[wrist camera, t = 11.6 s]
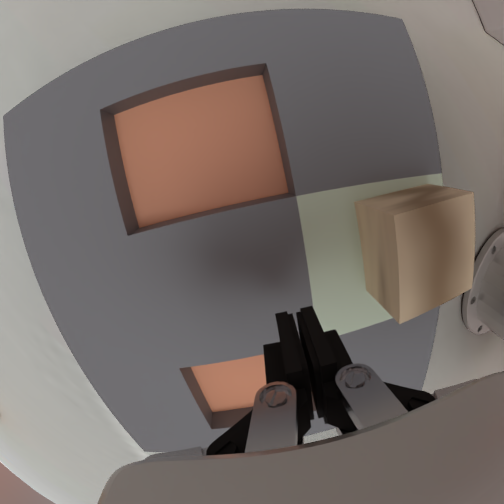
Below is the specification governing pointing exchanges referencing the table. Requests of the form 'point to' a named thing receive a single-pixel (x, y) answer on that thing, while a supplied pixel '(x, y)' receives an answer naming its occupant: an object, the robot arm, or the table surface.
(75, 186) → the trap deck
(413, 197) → the beech block
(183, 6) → the table surface
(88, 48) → the table surface
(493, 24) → the medicine bottle
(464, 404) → the robot arm
